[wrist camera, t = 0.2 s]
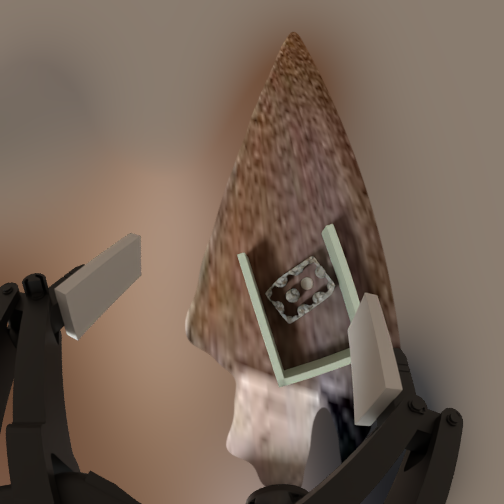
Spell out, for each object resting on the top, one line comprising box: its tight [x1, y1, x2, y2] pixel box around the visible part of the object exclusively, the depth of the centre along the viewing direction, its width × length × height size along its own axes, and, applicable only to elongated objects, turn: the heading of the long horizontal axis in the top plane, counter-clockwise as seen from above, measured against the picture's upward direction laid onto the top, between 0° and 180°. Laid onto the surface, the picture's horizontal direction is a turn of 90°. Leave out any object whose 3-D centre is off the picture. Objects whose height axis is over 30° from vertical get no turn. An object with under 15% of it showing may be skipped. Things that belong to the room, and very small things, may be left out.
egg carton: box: [265, 256, 335, 324], centre depth 47 cm, size 11×8×4 cm
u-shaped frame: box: [237, 224, 360, 387], centre depth 46 cm, size 23×16×6 cm
